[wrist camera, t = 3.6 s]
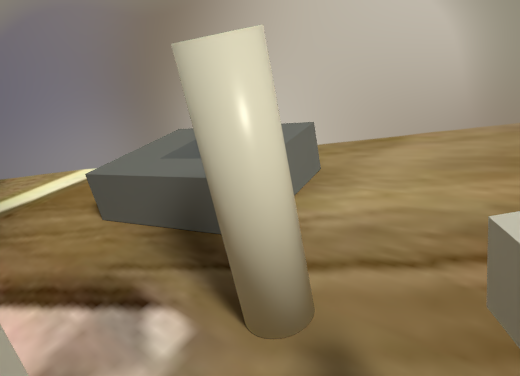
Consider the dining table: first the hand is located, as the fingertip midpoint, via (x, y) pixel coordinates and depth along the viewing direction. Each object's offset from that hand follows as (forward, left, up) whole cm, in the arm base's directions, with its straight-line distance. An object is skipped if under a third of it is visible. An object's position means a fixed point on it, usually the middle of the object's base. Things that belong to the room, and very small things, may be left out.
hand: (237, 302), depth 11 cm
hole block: (-20, +22, -8) cm, 31 cm away
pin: (-5, +8, -8) cm, 13 cm away
